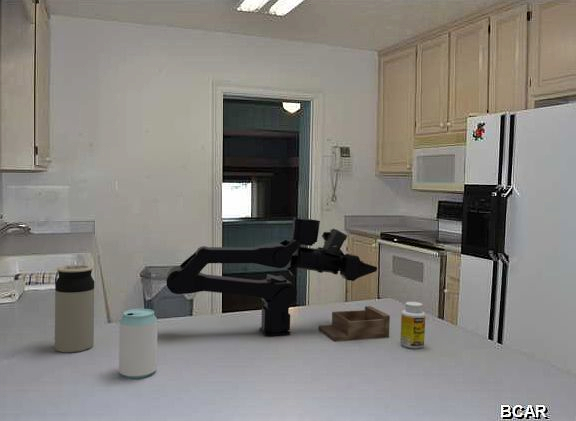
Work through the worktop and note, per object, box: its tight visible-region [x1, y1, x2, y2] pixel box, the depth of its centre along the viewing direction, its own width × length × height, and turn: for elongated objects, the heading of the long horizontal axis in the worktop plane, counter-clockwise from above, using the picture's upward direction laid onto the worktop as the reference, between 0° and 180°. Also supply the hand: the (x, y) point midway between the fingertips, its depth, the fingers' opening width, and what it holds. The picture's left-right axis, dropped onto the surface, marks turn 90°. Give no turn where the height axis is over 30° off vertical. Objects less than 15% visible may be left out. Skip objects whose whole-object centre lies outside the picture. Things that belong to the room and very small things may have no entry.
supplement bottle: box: [399, 301, 426, 350], centre depth 119 cm, size 6×6×10 cm
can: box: [118, 308, 158, 379], centre depth 97 cm, size 7×7×12 cm
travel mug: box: [54, 264, 95, 354], centre depth 110 cm, size 8×8×18 cm
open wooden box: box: [317, 305, 391, 342], centre depth 128 cm, size 15×10×6 cm
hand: (369, 266), depth 132 cm, fingers open, 9 cm apart
